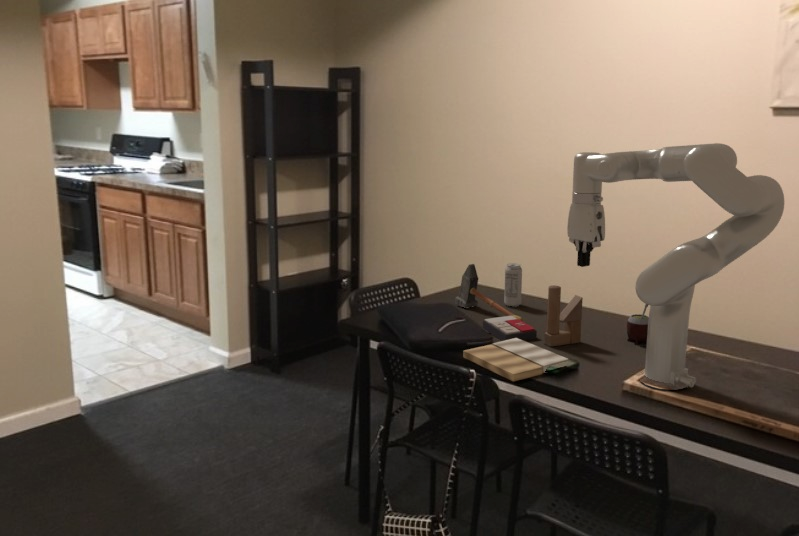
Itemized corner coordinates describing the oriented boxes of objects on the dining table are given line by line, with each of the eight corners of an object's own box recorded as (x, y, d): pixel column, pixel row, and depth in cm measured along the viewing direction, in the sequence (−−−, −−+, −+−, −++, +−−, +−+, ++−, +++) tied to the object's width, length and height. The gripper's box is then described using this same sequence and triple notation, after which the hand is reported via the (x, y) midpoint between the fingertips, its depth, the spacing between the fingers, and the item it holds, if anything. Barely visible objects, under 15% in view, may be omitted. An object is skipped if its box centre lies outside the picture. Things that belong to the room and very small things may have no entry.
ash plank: (568, 365, 193) (568, 358, 192) (543, 372, 188) (543, 365, 188) (516, 344, 211) (516, 337, 211) (492, 349, 207) (492, 343, 206)
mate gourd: (628, 337, 218) (631, 290, 214) (655, 341, 214) (658, 293, 211) (623, 344, 211) (626, 295, 208) (650, 348, 208) (653, 298, 204)
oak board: (542, 373, 188) (542, 366, 188) (513, 381, 183) (513, 374, 183) (490, 350, 206) (491, 344, 206) (463, 357, 201) (463, 350, 201)
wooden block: (580, 342, 213) (583, 285, 209) (550, 347, 209) (552, 288, 205) (573, 339, 216) (576, 282, 212) (543, 343, 212) (545, 285, 208)
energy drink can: (524, 305, 255) (525, 264, 251) (514, 308, 250) (515, 267, 247) (510, 302, 259) (511, 262, 255) (500, 305, 254) (501, 265, 251)
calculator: (506, 333, 212) (482, 317, 226) (505, 346, 214) (481, 330, 227) (537, 328, 216) (512, 313, 230) (536, 341, 218) (511, 326, 231)
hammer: (518, 298, 226) (460, 262, 249) (509, 341, 233) (454, 303, 255) (531, 295, 230) (473, 260, 252) (522, 338, 236) (467, 300, 258)
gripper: (618, 200, 185) (614, 269, 188) (576, 195, 197) (573, 259, 201) (597, 203, 181) (594, 272, 185) (556, 197, 193) (554, 262, 197)
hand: (583, 265), depth 193 cm, fingers closed
